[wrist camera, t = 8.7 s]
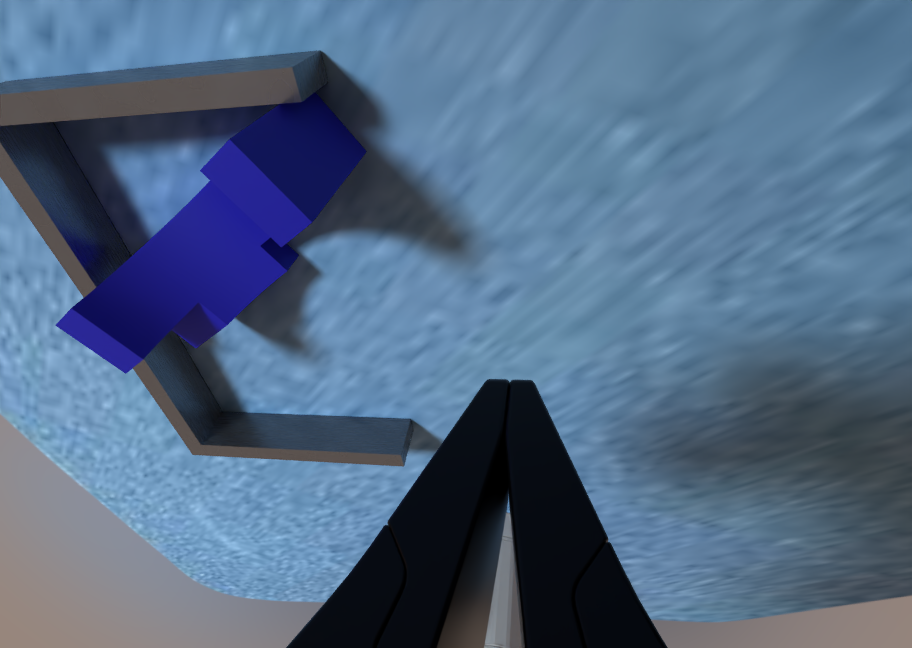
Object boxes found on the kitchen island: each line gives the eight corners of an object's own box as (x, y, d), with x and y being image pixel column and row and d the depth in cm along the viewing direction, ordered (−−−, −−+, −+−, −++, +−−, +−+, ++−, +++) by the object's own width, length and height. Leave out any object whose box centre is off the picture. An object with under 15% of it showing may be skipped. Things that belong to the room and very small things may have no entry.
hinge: (444, 481, 32) (414, 658, 25) (528, 487, 32) (524, 671, 24) (460, 581, 41) (441, 735, 33) (526, 588, 40) (522, 747, 32)
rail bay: (320, 50, 17) (281, 73, 15) (413, 430, 29) (400, 479, 27) (6, 81, 19) (-76, 105, 17) (214, 422, 32) (185, 466, 29)
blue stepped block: (227, 309, 26) (157, 395, 21) (150, 246, 24) (55, 325, 19) (394, 180, 20) (348, 259, 15) (310, 82, 18) (229, 139, 13)
